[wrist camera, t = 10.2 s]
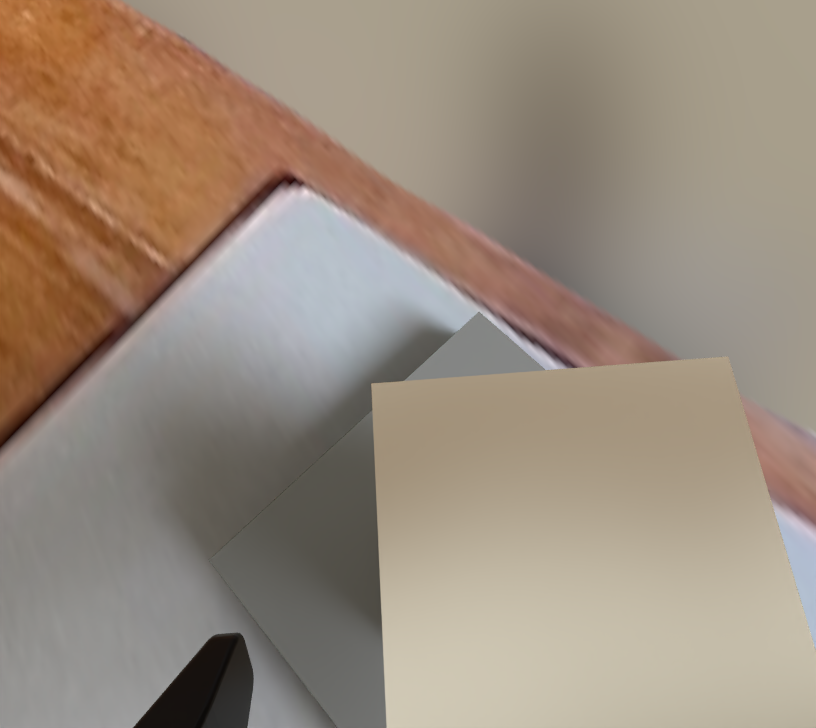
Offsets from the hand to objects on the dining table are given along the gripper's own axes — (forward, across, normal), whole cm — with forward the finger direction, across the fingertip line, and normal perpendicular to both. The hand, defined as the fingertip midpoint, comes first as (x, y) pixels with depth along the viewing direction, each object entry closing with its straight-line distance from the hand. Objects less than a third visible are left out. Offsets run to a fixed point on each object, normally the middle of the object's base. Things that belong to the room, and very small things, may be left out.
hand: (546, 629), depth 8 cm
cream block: (+7, 0, +5) cm, 9 cm away
